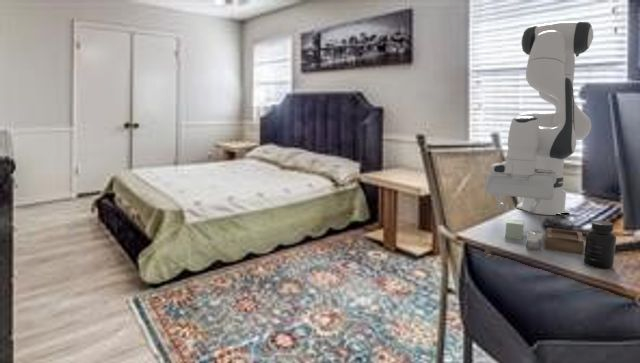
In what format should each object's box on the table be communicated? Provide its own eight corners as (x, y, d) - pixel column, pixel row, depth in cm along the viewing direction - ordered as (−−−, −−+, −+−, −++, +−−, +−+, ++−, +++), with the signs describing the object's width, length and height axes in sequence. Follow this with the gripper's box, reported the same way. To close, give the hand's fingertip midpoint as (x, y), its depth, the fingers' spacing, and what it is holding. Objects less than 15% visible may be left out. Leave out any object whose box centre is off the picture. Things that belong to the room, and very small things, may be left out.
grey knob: (526, 245, 135) (528, 229, 134) (540, 247, 133) (542, 231, 132) (525, 249, 131) (527, 233, 130) (540, 251, 129) (542, 235, 128)
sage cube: (506, 233, 147) (507, 218, 146) (522, 235, 145) (524, 220, 144) (505, 237, 142) (506, 222, 141) (521, 239, 140) (523, 224, 139)
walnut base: (544, 239, 140) (546, 227, 139) (580, 244, 136) (582, 231, 135) (544, 248, 132) (546, 236, 131) (583, 254, 127) (584, 241, 126)
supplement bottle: (590, 258, 124) (596, 217, 122) (617, 266, 119) (623, 223, 116) (578, 263, 121) (583, 221, 118) (604, 271, 115) (611, 228, 113)
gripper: (557, 169, 137) (552, 212, 139) (487, 164, 146) (484, 204, 148) (557, 171, 131) (552, 216, 134) (485, 166, 140) (482, 208, 143)
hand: (516, 210), depth 141 cm, fingers open, 8 cm apart
